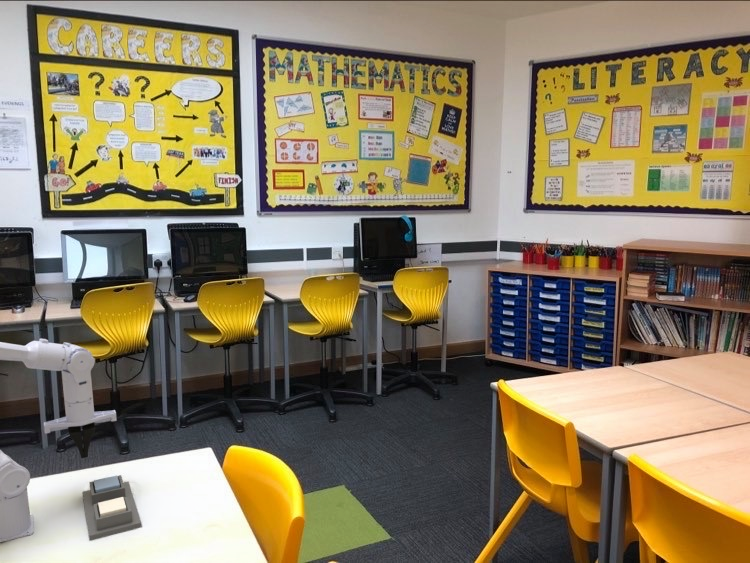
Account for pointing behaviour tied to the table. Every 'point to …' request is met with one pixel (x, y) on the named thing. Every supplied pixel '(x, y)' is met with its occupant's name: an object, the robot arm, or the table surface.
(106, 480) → the blue key
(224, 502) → the table surface
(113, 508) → the white key
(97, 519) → the key board
